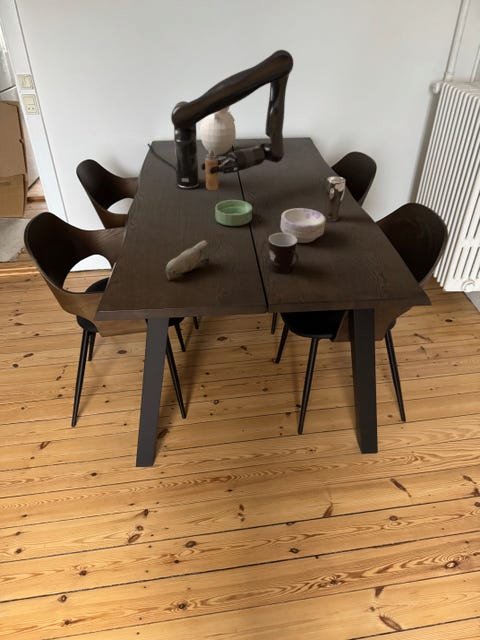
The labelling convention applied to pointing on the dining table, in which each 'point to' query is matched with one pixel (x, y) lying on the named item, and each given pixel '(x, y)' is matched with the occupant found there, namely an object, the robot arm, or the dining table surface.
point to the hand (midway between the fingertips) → (206, 169)
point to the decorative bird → (186, 260)
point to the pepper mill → (210, 178)
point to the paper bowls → (303, 224)
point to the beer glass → (333, 197)
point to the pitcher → (218, 131)
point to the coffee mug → (282, 252)
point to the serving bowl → (233, 212)
